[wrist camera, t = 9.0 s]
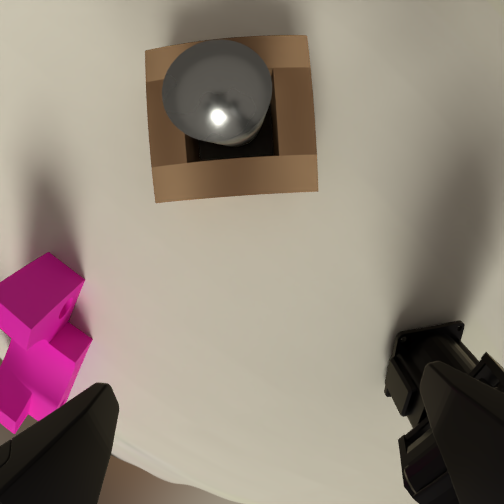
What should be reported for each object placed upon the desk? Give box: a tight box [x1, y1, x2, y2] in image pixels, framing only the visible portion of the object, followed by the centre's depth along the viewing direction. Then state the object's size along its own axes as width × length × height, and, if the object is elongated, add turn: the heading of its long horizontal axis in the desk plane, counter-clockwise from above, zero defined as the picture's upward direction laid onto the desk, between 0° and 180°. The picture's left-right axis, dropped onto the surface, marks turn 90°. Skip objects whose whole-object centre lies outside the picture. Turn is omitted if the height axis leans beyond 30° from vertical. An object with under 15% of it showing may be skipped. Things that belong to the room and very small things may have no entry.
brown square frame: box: [145, 35, 318, 203], centre depth 16 cm, size 8×8×4 cm
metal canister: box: [162, 39, 272, 147], centre depth 13 cm, size 3×3×10 cm
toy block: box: [0, 252, 93, 434], centre depth 19 cm, size 15×6×8 cm, turn 145°
